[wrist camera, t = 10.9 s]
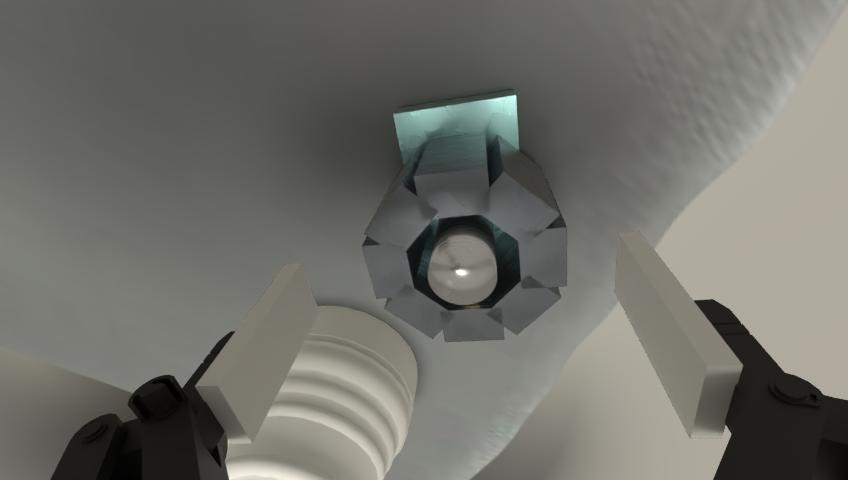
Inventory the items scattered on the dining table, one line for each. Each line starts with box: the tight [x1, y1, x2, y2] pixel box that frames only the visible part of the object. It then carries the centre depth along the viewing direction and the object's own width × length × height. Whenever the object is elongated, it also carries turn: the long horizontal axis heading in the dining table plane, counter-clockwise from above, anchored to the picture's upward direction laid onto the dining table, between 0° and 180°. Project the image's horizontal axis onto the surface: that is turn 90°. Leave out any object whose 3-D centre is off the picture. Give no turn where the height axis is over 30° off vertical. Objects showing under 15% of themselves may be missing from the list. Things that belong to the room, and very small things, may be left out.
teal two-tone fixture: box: [393, 89, 519, 305], centre depth 21 cm, size 12×6×9 cm, turn 10°
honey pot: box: [225, 305, 418, 480], centre depth 26 cm, size 13×13×18 cm
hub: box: [362, 131, 567, 342], centre depth 21 cm, size 9×9×6 cm
